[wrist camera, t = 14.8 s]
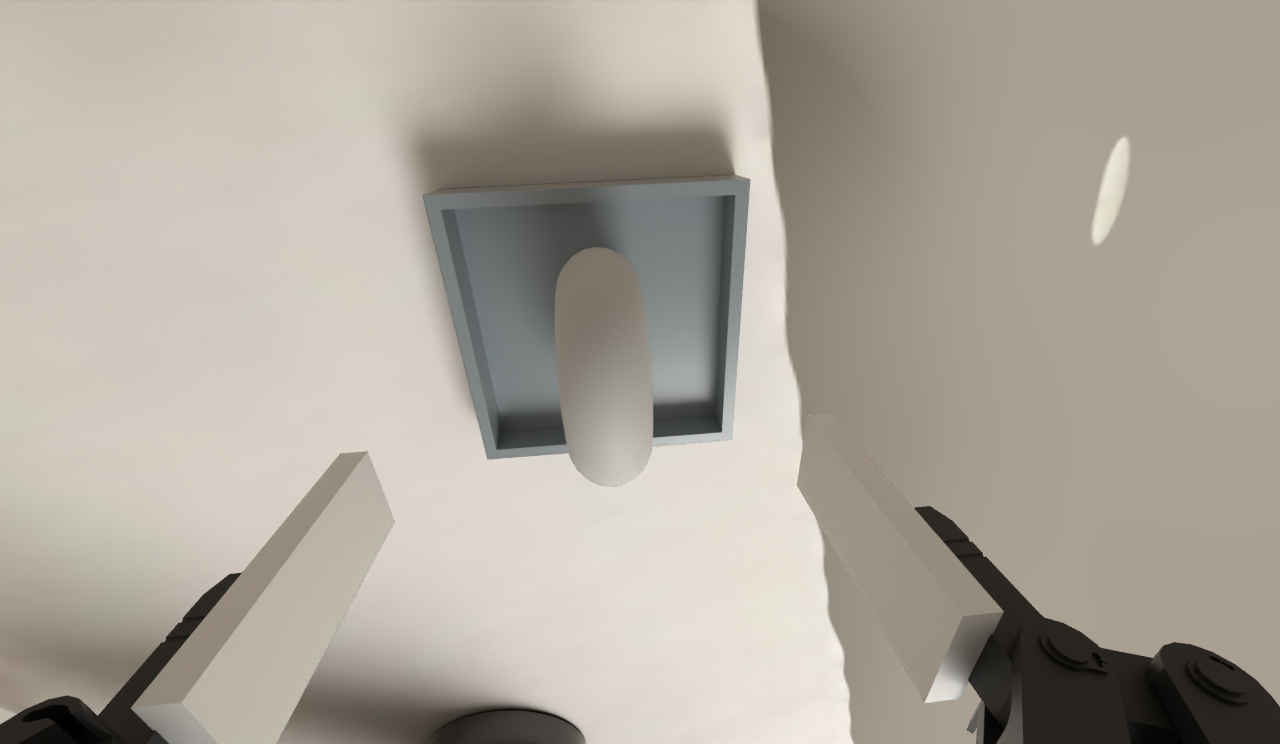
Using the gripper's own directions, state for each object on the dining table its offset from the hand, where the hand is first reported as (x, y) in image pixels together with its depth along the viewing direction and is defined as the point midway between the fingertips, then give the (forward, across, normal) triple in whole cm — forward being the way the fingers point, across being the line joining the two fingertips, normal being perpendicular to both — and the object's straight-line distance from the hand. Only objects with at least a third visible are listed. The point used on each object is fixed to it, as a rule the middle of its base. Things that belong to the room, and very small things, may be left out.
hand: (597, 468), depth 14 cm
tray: (+12, 0, 0) cm, 12 cm away
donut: (+12, 0, 0) cm, 12 cm away
